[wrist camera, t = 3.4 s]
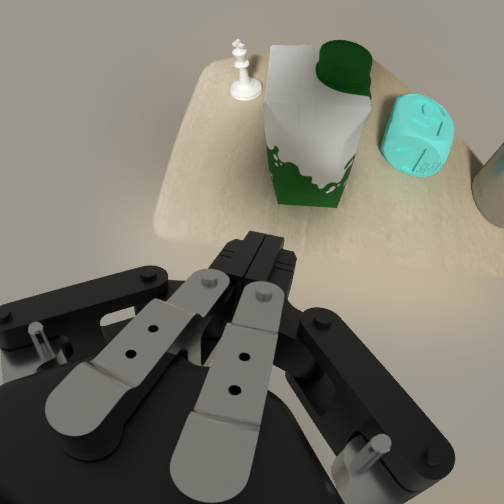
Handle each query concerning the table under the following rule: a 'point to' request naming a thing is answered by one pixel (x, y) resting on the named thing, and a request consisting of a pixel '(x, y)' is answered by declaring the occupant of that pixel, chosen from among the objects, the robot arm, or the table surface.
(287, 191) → the soya milk
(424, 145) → the decorative dice
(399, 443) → the robot arm
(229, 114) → the table surface
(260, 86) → the chess piece
